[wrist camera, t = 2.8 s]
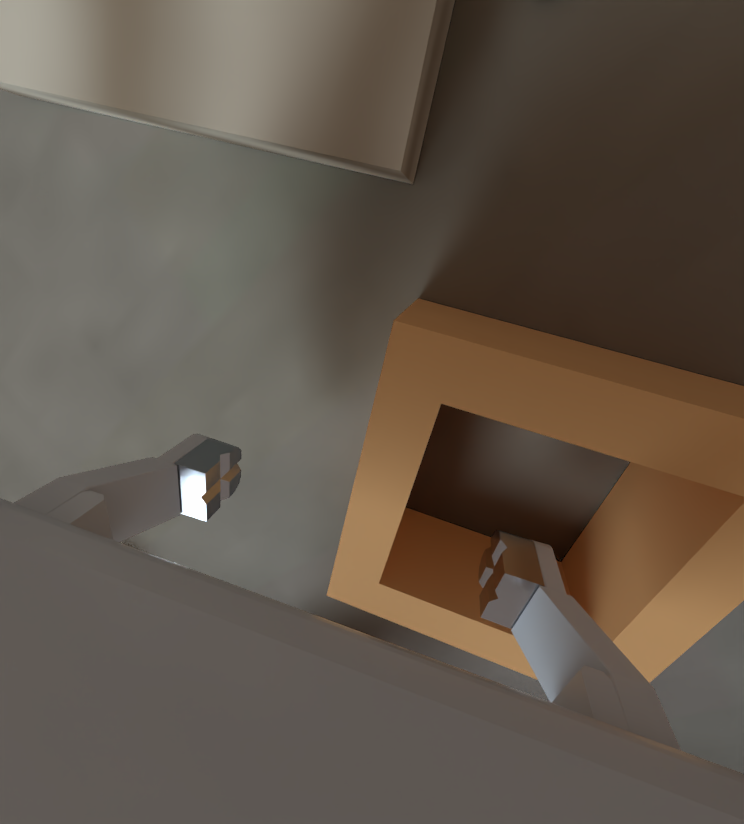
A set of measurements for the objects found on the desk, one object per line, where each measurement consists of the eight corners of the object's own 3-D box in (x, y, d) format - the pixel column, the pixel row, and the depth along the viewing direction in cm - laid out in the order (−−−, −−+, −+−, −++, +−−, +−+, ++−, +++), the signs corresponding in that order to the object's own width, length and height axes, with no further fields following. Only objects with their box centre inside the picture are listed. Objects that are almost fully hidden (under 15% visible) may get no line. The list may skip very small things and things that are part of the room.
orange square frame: (751, 388, 10) (900, 463, 7) (582, 601, 15) (616, 711, 11) (418, 298, 11) (393, 320, 8) (358, 519, 16) (326, 595, 13)
